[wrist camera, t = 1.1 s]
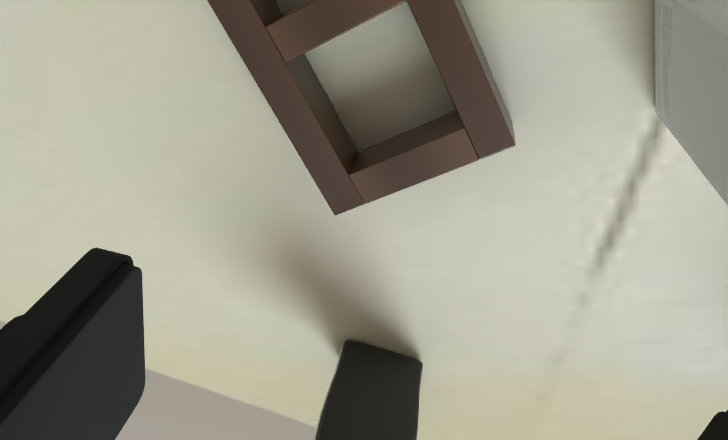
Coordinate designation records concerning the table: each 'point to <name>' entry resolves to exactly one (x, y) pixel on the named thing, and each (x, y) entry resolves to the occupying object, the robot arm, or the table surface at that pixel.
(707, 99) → the white packaging box
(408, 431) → the battery charger
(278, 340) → the table surface
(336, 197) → the rack
